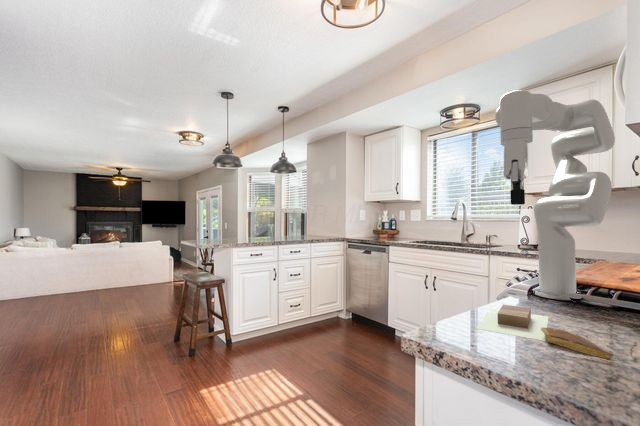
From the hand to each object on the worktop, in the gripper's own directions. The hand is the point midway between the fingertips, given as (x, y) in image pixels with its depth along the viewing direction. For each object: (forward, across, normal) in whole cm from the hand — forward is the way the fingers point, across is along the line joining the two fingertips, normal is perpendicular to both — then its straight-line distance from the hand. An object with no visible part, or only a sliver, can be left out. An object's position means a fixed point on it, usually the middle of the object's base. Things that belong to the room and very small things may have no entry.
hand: (517, 204), depth 89 cm
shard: (+29, +22, +11) cm, 38 cm away
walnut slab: (+27, +8, 0) cm, 28 cm away
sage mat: (+29, +14, 0) cm, 32 cm away
